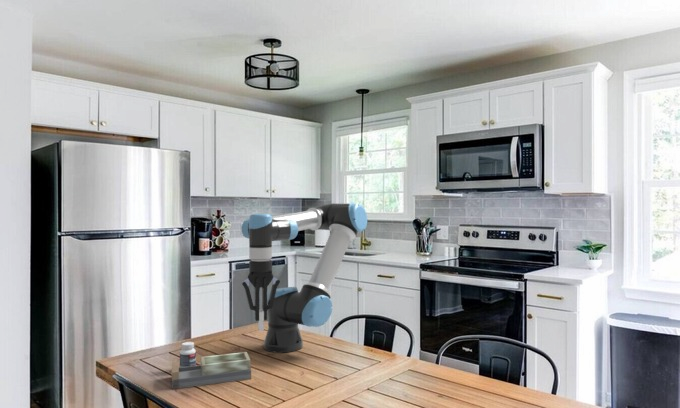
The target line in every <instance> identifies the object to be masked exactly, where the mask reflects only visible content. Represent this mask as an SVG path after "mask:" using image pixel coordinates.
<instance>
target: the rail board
mask: <svg viewBox="0 0 680 408" xmlns="http://www.w3.org/2000/svg"><path fill="white" fill-rule="evenodd" d="M251 379H252V370H245V371H237V372H229V373H221V374H213V375H205V376H202V372H201V364H200V365H199V364H198V365H196V366H189V367H181V368H180V360H176V361H175V360H174V361H173V360H172V362H171V389H172V390H174V389H175V390H176V389H182V388H192V387H197V386H198V387H200V386H205V385H212V384H214V385H215V384H219V383H228V382H236V381H244V380H251Z"/></svg>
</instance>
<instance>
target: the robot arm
mask: <svg viewBox="0 0 680 408" xmlns="http://www.w3.org/2000/svg"><path fill="white" fill-rule="evenodd" d="M367 226H368V215H367V212H366V209H365V207H364V206H363V205H362V204H360V203H357V202H356V203H355V202H354V203H353V202H350V203H327V204H323V205H318V206H315V207H314V206H313V207H309V208H307V210H305V211H299V212H293V213H284V214H279V215H274V216H272V214H270V213H253V214H252V213H251V214H250V215H249V218H247V219H245V220H244V221H243V222H242V223H241V228H240V229H241V234H242V236H243V237H244V238H246V239H249V240H248V244H249V246H248V247H249V251H248V252H249V253H248V254H249V255H248V257H249V258H248V259H250V260H249V262H248V263H249V264H248V265H249V267H248V268H249V269H248V270H249V271H248V273H249V274H248V275H247V278H246V279H245V280H242V281H241V285H242V287H243V288H244V291H245V296H246V299H247V305H248V307H249V309H250V310H251V311H254V320H255V321H256V322H257V328H258V329H257V330H258V332H264V331H265V321H268V323H267V325H268V326H267V331H266V335H265V337H264V341H263V348H264V350H265V351H267V352H271V353H290V352H294V351H295V352H296V351H299V350H301V349H302V348H303V346H304V345H303V337H302V334H301V332H300V328H299V325H303V326H306V327H313V328H314V327H315V328H319V327H321V326H323V325H325V324H326V323H327V322H328V321H329V319H330V317H331V315H332V312H333V308H332V307H333V301H332V300H331V299H332V298H331V297H332V296H331V294H330V290H331V287H333V286H332V285H333V283H334V280H335V278H336V276H337V274H338V272H339V271H338V270H339V268H340V266H341V264H342V262H343V258H344V256H345V254H346V251H347V249H348V247H349V245H350V242H351V241H353V240H355V239H356V238H357V237H356V236H357V234H358V233H361V232H363V231H365V230H366V228H367ZM305 230H311V231H317V230H322V231H330V233H329V236H328V239H327V240H326V243H325V245H324V248H323V249H322V252H321V254H320V256H319V259H318V260H317V263H316V265H315V267H314V270H313V272H312V275H311V276H310V279H309V280H308V282H307V283H304V284H303V285H302V286H301V289H300V291H299V289H298V287H296V286H287V287H279V284H280V283H281V281H280V279H278V278H276V277H274V273H273V261H272V260H271V259H272V258H273V252H272V251H273V245H272V244H273V242H276V241H277V242H278V241H290V240H294V239H295V238H296V237H297V236H298V233H299V232H300V231H305ZM250 284H251V285H252V286H253V289H254V303H253V299H252V294H251V291H250V287H249V286H250ZM270 284H272V285H271V289H270V290H269V292H268V286H269V285H270ZM260 289H261V296H262V297H261V298H262V299H261V300H262V301H261V305H262V306H261V309H260Z"/></svg>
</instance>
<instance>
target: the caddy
mask: <svg viewBox="0 0 680 408" xmlns="http://www.w3.org/2000/svg"><path fill="white" fill-rule="evenodd" d="M200 365H201V372H202V376H205V375H213V374H221V373H229V372H237V371H245V370H251V357H250V356H249V354H248V352H247V351H241V352H233V353H224V354H216V355H208V356H207V355H206V356H201V357H200ZM251 371H252V370H251Z"/></svg>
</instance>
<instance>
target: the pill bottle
mask: <svg viewBox="0 0 680 408" xmlns="http://www.w3.org/2000/svg"><path fill="white" fill-rule="evenodd" d="M189 366H197V352H196V349H195V343H194V342H193V341H186V342H183V343H181V350H180V352H179V368H181V367H189Z"/></svg>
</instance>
